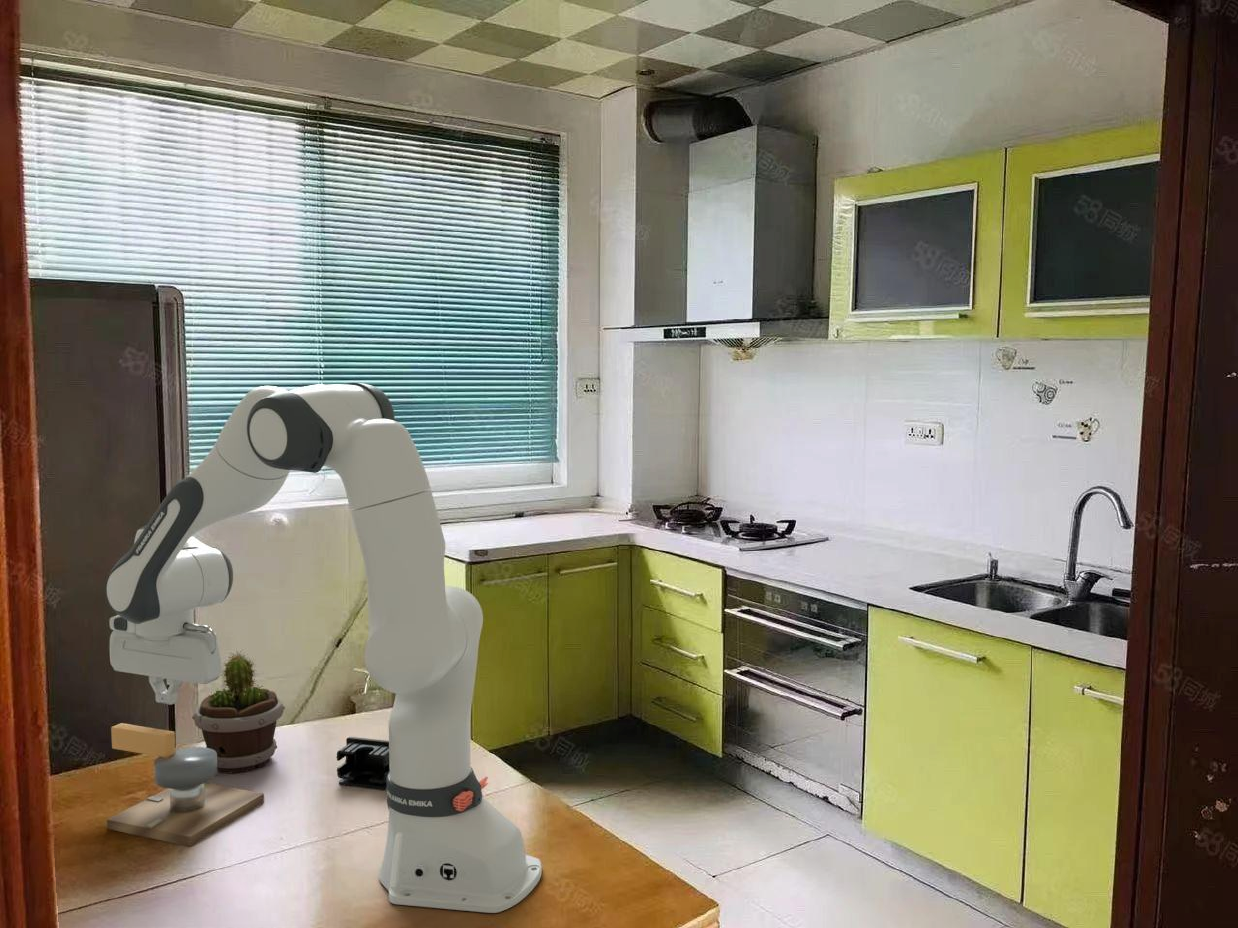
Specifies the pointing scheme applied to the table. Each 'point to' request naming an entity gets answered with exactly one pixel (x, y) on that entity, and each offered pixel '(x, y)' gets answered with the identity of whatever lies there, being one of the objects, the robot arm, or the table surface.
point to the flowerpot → (240, 719)
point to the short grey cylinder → (187, 799)
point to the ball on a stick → (167, 755)
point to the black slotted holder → (364, 763)
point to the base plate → (185, 815)
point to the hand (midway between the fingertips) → (166, 702)
